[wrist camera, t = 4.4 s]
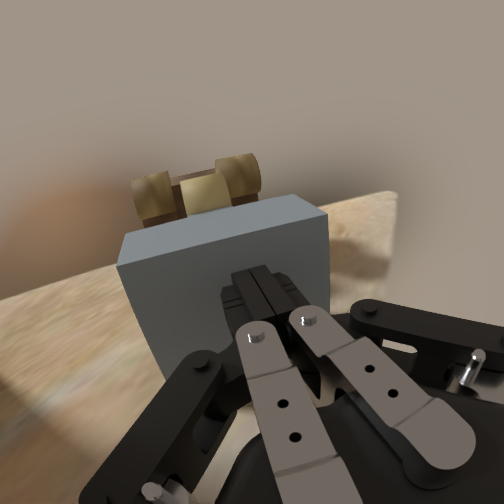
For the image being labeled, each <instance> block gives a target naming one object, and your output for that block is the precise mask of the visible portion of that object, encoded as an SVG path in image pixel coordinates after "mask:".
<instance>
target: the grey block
mask: <svg viewBox="0 0 504 504" xmlns="http://www.w3.org/2000/svg"><path fill="white" fill-rule="evenodd" d="M180 185H181V190H182V195H183V200H184V204H185V209H186V213H187V217H188V218H184V219H180V220H176V221H172V222H168V223H164V224H161V225H157V226H153V227H149V228H145V229H142V230H138V231H134V232H130V233H127V234H126V235H125V238H124V241H123V244H122V248H121V252H120V254H119V258H118V261H117V265H116V267H117V270H118V273H119V276H120V278H121V281H122V284H123V286H124V289H125V291H126V294H127V296H128V299H129V301H130V304H131V306H132V309H133V311H134V313H135V316H136V318H137V320H138V323H139V325H140V327H141V330H142V332H143V334H144V336H145V338H146V341H147V343H148V345H149V347H150V349H151V351H152V353H153V356H154V358H155V360H156V362H157V364H158V366H159V368H160V370H161V372H162V374H163V376H164V378H165V380H166V381H167V380H168V378H169V377H170V376H171V374H172V373H173V372H174V370H175V369H176V368H177V366H178V365H179V364H180V362H181V361H182V360H183V359H184V358H185V357H186V356H187V355H188V354H190V353H192V352H195V351H198V350H211V351H214V352H216V353H217V354H218V353H220V352H221V351H223V350H225V349H226V348H227V347H228V346H229V345H230V344H231V343H232V341H233V339H232V336H231V333H230V330H229V328H228V325H227V322H226V318H225V314H224V310H223V305H222V301H221V297H220V294H221V290H222V287H226V286H229V285H233V283H232V278H231V273H234V272H237V271H241V270H245V269H249V268H252V267H256V266H260V265H264V264H265V265H266V266H267V268H268V269H269V271H270V272H271V273H272V274H273V273H277V272H280V273H282V274H284V275H287V276H288V277H289V278H290V279H291V280H292V282H293V284H295V285H296V287H297V289H299V290H300V292H301V293H302V294H303V295H304V297H305V298H306V299H307V300H308V302H309V303H310V304H311V305H313V306H318V307H321V308H323V309H324V310H325V311H326V312H327V313H328V314H329V315H330V265H329V232H328V214H327V213H325V212H324V211H322V210H320V209H318V208H317V207H315V206H313V205H312V204H310V203H308V202H306V201H305V200H303V199H301V198H299V197H298V196H296V195H294V194H291V195H286V196H281V197H276V198H271V199H267V200H262V201H257V202H253V203H248V204H244V205H239V206H235V207H233V206H232V204H231V199H230V195H229V191H228V187H227V184H226V181H225V178H224V176H223V174H222V173H221V172H219V173H215V174H210V175H205V176H201V177H197V178H192V179H188V180H184V181H180ZM289 361H290V363H292V361H291V359H289Z"/></svg>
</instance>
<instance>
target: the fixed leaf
mask: <svg viewBox="0 0 504 504" xmlns="http://www.w3.org/2000/svg"><path fill="white" fill-rule="evenodd" d="M219 172H221V173H222V174H223V176H224V178H225V181H226V184H227V187H228V191H229V195H230V199H231V204H232V206H233V207H235V206H239V205H244V204H248V203H253V202H257V201H258V194H257V193H258V192H260V190H261V175H260V170H259V166H258V163H257V160H256V158H255V156H254V155H253V154H252V153H250V154H245V155H239V156H233V157H228V158H223V159H218V160H215V168H214V169H209V170H205V171H200V172H196V173H191V174H187V175H183V176H178V177H174V178H169V174H168V171H165V172H161V173H157V174H153V175H149V176H145V177H141V178H138V179H134V180H132V183H131V184H132V194H133V199H134V203H135V207H136V210H137V213H138V216H139V218H140V220H142V221H143V225H144V229H145V228H149V227H153V226H157V225H161V224H164V223H168V222H172V221H176V220H180V219H184V218H188V217H187V213H186V209H185V204H184V200H183V195H182V190H181V185H180V181H184V180H188V179H192V178H197V177H201V176H205V175H210V174H215V173H219Z"/></svg>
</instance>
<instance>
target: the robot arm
mask: <svg viewBox="0 0 504 504" xmlns="http://www.w3.org/2000/svg"><path fill="white" fill-rule="evenodd" d="M231 278H232V283H233V285H229V286H226V287H222V290H221V294H220V297H221V301H222V305H223V310H224V314H225V318H226V322H227V325H228V328H229V330H230V333H231V336H232V339H233V341H232V343H231V344H230V345H229V346H228V347H227V348H226V349H225V350H223V351H221V352H220V353H218V354H217V353H216V352H214V351H211V350H198V351H195V352H192V353H190V354H188V355H187V356H186V357H185V358H184V359H183V360H182V361H181V362H180V364H179V365H178V366H177V368H176V369H175V370H174V372H173V373H172V374H171V376H170V377H169V378H168V380H167V381H166V382H165V384H164V385H163V386H162V387H161V389H160V390H159V391H158V393H157V394H156V395H155V397H154V398H153V399H152V401H151V402H150V403H149V405H148V406H147V407H146V408H145V410H144V411H143V412H142V414H141V415H140V416H139V418H138V419H137V420H136V421H135V423H134V424H133V425H132V427H131V428H130V429H129V431H128V432H127V433H126V434H125V436H124V437H123V438H122V440H121V441H120V442H119V444H118V445H117V446H116V447H115V449H114V450H113V451H112V453H111V454H110V455H109V456H108V458H107V459H106V460H105V462H104V463H103V464H102V465H101V467H100V468H99V469H98V471H97V472H96V473H95V474H94V476H93V477H92V478H91V480H90V481H89V482H88V483H87V485H86V486H85V487H84V488H83V490H82V491H81V493H80V496H79V504H199V503H198V501H197V499H196V498H195V497H194V496H193V495H192V492H193V491H194V489H195V487H196V486H197V484H198V482H199V481H200V479H201V477H202V476H203V474H204V472H205V471H206V469H207V467H208V465H209V464H210V462H211V460H212V458H213V457H214V455H215V453H216V451H217V450H218V448H219V446H220V444H221V443H222V441H223V439H224V437H225V435H226V433H227V432H228V430H229V428H230V426H231V424H232V422H233V421H234V419H235V417H236V415H237V410H238V409H239V408H241V407H243V406H244V405H246V404H247V403H249V402H250V401H252V405H253V408H254V412H255V415H256V419H257V423H258V426H259V430H260V433H259V434H258V435H256V436H255V437H254V438H252V439H251V440H250V441H249V442H248V443H247V444H246V445H245V446H244V448H243V449H242V450H241V452H240V453H239V455H238V456H237V458H236V460H235V462H234V464H233V466H232V469H231V471H230V473H229V475H228V477H227V479H226V481H225V483H224V485H223V487H222V489H221V491H220V493H219V495H218V497H217V499H216V501H215V503H214V504H504V327H501V326H496V325H491V324H486V323H481V322H475V321H471V320H466V319H461V318H456V317H452V316H447V315H442V314H437V313H432V312H428V311H423V310H419V309H414V308H409V307H405V306H400V305H396V304H391V303H387V302H382V301H378V300H373V299H364V300H359V301H357V302H355V303H354V304H353V305H352V306H351V309H350V313H346V314H337V315H329V314H328V313H327V312H326V311H325V310H324V309H323V308H321V307H318V306H313V305H311V304H310V303H309V302H308V300H307V299H306V298H305V297H304V295H303V294H302V293H301V292H300V290H299V289H297V287H296V285H295V284H293V282H292V280H291V279H290V278H289V277H288V276H287V275H284V274H282V273H280V272H277V273H273V274H272V273H271V272H270V271H269V269H268V268H267V266H266V265H265V264H264V265H260V266H256V267H252V268H249V269H245V270H241V271H237V272H234V273H231ZM383 339H385V340H389V341H393V342H397V343H401V344H406V345H410V346H413V347H414V348H415V349H416V350H417V352H416V353H407V352H403V351H399V350H395V349H391V348H387V347H383V346H382V343H383ZM289 359H291V361H292V363H293V366H292V365H291V363H290V361H289ZM312 400H313V401H312ZM313 402H314V403H315V405H316V406H317V408H315V405H314V403H313Z"/></svg>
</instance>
